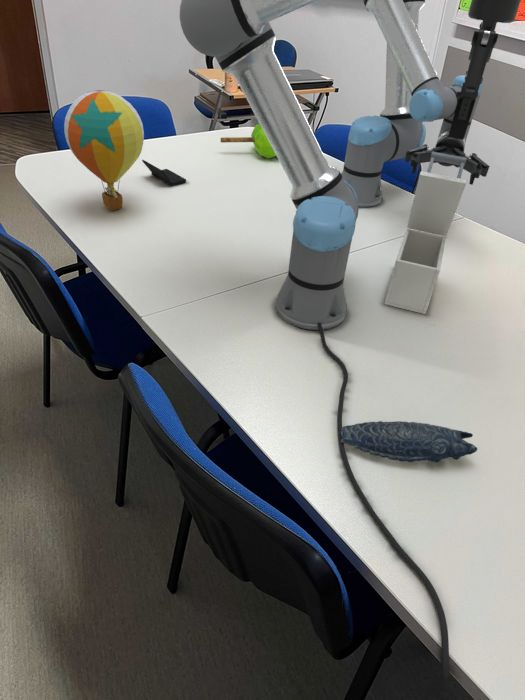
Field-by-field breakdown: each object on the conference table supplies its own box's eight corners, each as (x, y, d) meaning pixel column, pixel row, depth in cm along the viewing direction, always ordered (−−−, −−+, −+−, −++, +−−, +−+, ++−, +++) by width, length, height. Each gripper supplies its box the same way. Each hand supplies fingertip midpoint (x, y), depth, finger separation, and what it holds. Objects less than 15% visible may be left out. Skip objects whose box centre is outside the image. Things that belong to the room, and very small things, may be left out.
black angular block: (190, 175, 164) (173, 153, 156) (179, 193, 163) (161, 172, 155) (166, 170, 170) (147, 148, 162) (155, 188, 169) (136, 167, 161)
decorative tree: (217, 117, 188) (297, 117, 193) (217, 147, 194) (295, 146, 200) (224, 132, 174) (310, 131, 180) (224, 163, 181) (307, 162, 186)
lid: (466, 183, 104) (474, 151, 107) (419, 174, 106) (429, 143, 109) (446, 236, 120) (454, 207, 123) (406, 227, 122) (415, 199, 125)
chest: (425, 314, 115) (440, 270, 108) (384, 304, 117) (395, 260, 110) (432, 278, 128) (446, 236, 121) (395, 269, 130) (406, 228, 123)
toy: (64, 203, 145) (44, 85, 127) (127, 189, 156) (117, 79, 137) (97, 229, 134) (80, 105, 116) (162, 213, 145) (156, 96, 126)
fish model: (475, 475, 80) (486, 454, 77) (339, 458, 81) (344, 436, 78) (466, 443, 85) (476, 422, 82) (339, 427, 86) (344, 405, 83)
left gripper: (477, -15, 94) (442, 110, 107) (471, -7, 75) (431, 142, 89) (520, -10, 93) (480, 116, 106) (525, -1, 74) (476, 150, 87)
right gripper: (492, 171, 139) (492, 199, 123) (399, 153, 144) (387, 178, 128) (503, 142, 134) (503, 167, 118) (406, 125, 139) (394, 147, 124)
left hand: (457, 128), depth 97 cm, fingers open, 13 cm apart
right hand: (443, 173), depth 123 cm, fingers open, 13 cm apart
